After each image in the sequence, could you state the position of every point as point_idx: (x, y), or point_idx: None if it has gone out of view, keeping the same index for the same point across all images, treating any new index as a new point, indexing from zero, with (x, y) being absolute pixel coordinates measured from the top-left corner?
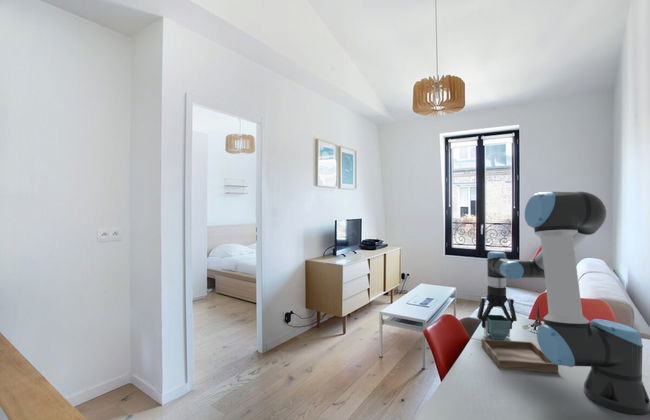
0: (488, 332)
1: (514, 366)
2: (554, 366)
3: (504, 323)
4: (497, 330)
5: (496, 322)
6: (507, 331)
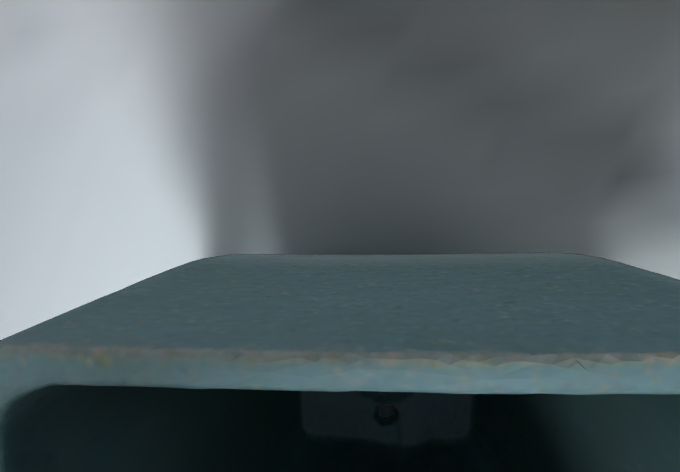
0: (526, 411)
1: None
2: None
3: (267, 317)
4: (467, 260)
5: (602, 325)
6: (227, 259)
